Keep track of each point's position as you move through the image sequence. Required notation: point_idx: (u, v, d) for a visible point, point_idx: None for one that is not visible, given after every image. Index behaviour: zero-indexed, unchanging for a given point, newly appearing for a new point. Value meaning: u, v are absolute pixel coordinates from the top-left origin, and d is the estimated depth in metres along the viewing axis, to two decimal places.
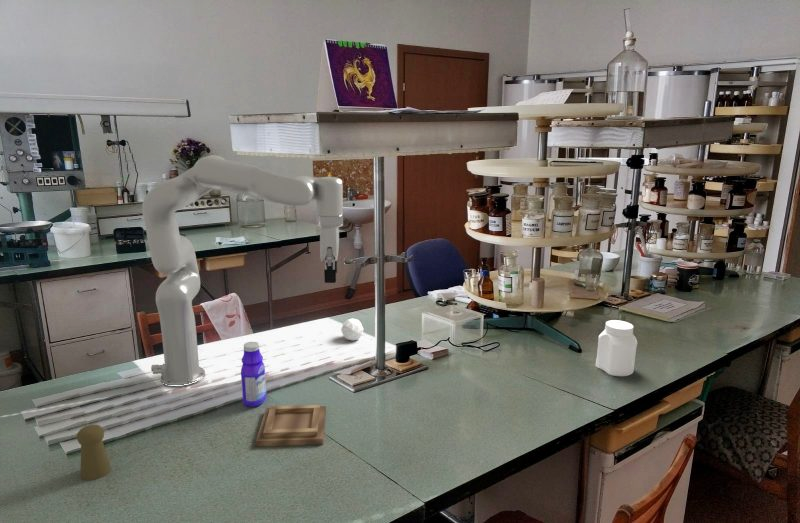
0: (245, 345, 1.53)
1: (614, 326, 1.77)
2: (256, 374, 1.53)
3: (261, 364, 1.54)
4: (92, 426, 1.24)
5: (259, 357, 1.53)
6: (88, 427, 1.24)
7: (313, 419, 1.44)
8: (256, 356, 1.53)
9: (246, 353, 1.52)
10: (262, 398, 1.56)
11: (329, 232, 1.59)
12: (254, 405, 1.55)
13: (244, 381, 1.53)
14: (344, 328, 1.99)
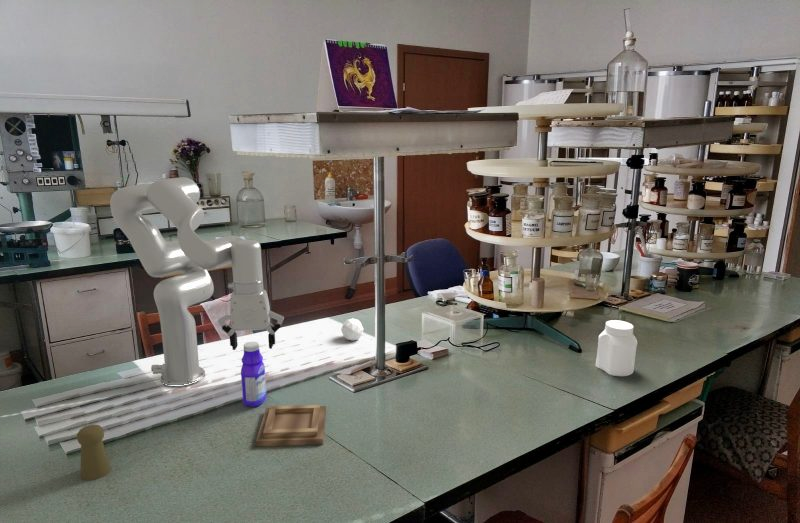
0: (245, 345, 1.53)
1: (614, 326, 1.77)
2: (256, 374, 1.53)
3: (261, 364, 1.54)
4: (92, 426, 1.24)
5: (259, 357, 1.53)
6: (88, 427, 1.24)
7: (313, 419, 1.44)
8: (256, 356, 1.53)
9: (246, 352, 1.52)
10: (262, 398, 1.56)
11: None
12: (254, 405, 1.55)
13: (244, 381, 1.53)
14: (344, 328, 1.99)
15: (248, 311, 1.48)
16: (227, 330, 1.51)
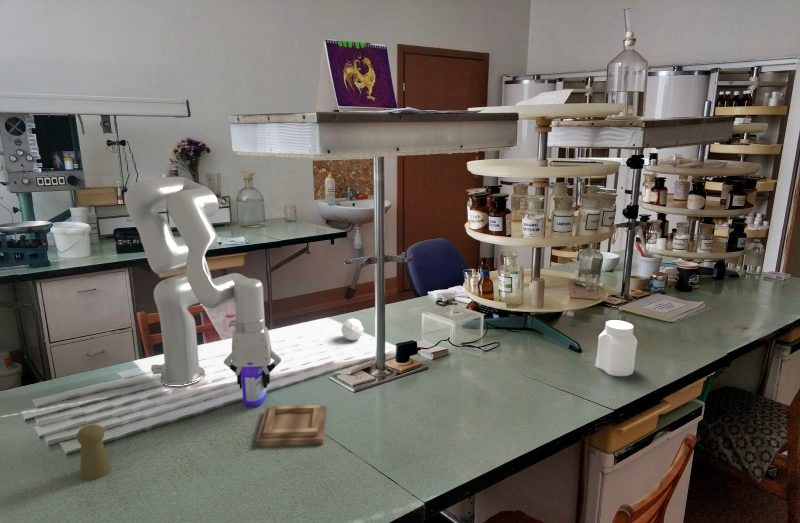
0: None
1: (614, 326, 1.77)
2: (256, 374, 1.53)
3: None
4: (92, 426, 1.24)
5: None
6: (88, 427, 1.24)
7: (313, 419, 1.44)
8: None
9: None
10: (262, 398, 1.56)
11: (268, 333, 1.53)
12: (254, 405, 1.55)
13: (244, 381, 1.53)
14: (344, 328, 1.99)
15: (249, 349, 1.51)
16: (234, 370, 1.54)
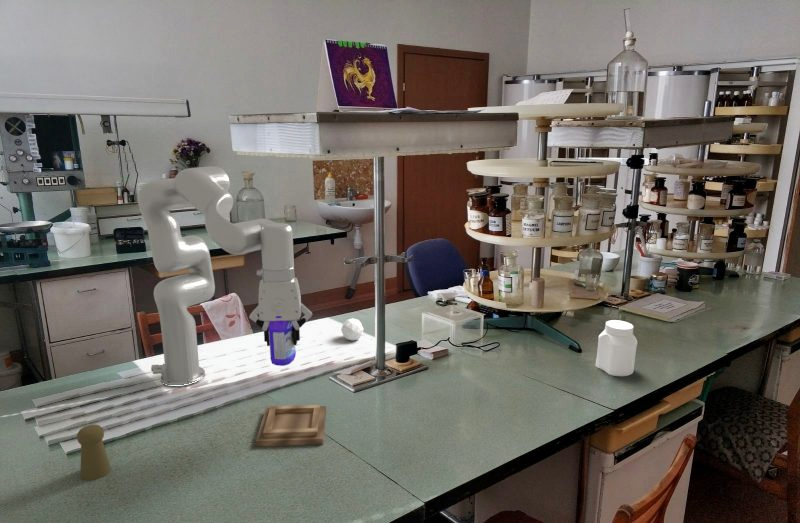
0: None
1: (614, 326, 1.77)
2: (286, 328, 1.38)
3: None
4: (92, 426, 1.24)
5: None
6: (88, 427, 1.24)
7: (313, 419, 1.44)
8: None
9: None
10: (292, 356, 1.42)
11: None
12: (283, 364, 1.40)
13: (272, 336, 1.38)
14: (344, 328, 1.99)
15: (278, 300, 1.36)
16: (260, 325, 1.40)
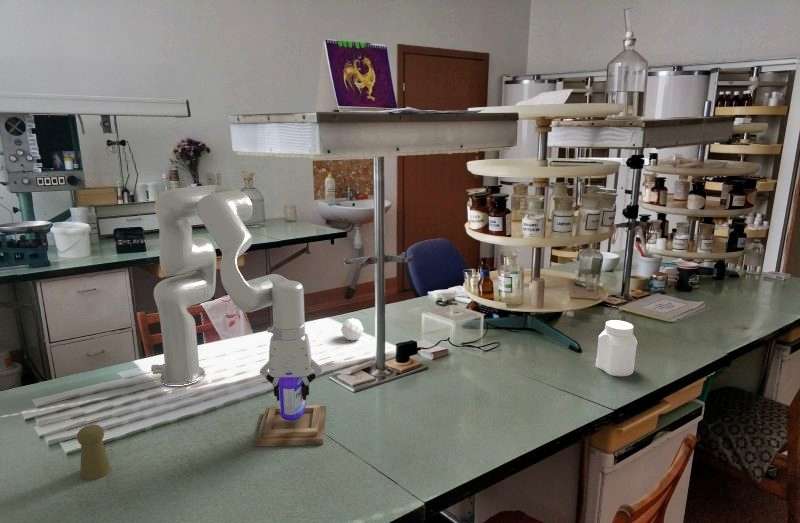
0: None
1: (614, 326, 1.77)
2: (296, 385, 1.39)
3: None
4: (92, 426, 1.24)
5: None
6: (88, 427, 1.24)
7: (313, 419, 1.44)
8: None
9: None
10: (301, 411, 1.43)
11: (308, 340, 1.40)
12: (293, 419, 1.41)
13: (282, 393, 1.39)
14: (344, 328, 1.99)
15: (289, 358, 1.37)
16: (271, 381, 1.41)
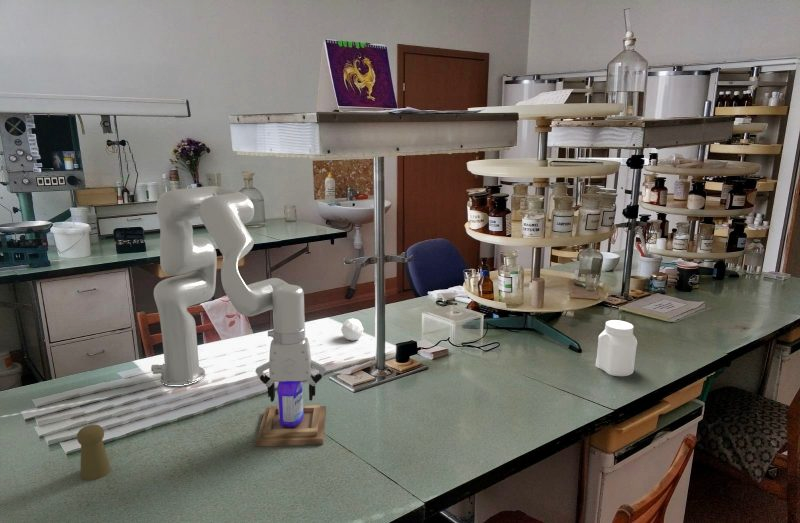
0: None
1: (614, 326, 1.77)
2: (295, 392, 1.40)
3: (299, 381, 1.42)
4: (92, 426, 1.24)
5: None
6: (88, 427, 1.24)
7: (313, 419, 1.44)
8: None
9: None
10: (300, 418, 1.43)
11: (308, 344, 1.40)
12: (292, 426, 1.42)
13: (281, 400, 1.40)
14: (344, 328, 1.99)
15: (289, 362, 1.38)
16: (265, 380, 1.41)
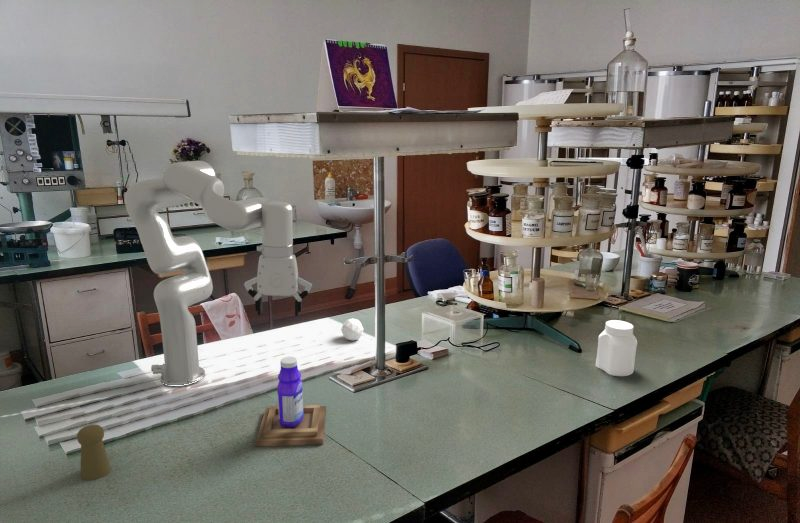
0: (282, 361, 1.40)
1: (614, 326, 1.77)
2: (295, 392, 1.40)
3: (299, 381, 1.42)
4: (92, 426, 1.24)
5: (297, 374, 1.41)
6: (88, 427, 1.24)
7: (313, 419, 1.44)
8: (295, 373, 1.40)
9: (284, 369, 1.39)
10: (300, 418, 1.43)
11: None
12: (292, 426, 1.42)
13: (281, 400, 1.40)
14: (344, 328, 1.99)
15: (276, 276, 1.43)
16: (253, 294, 1.46)
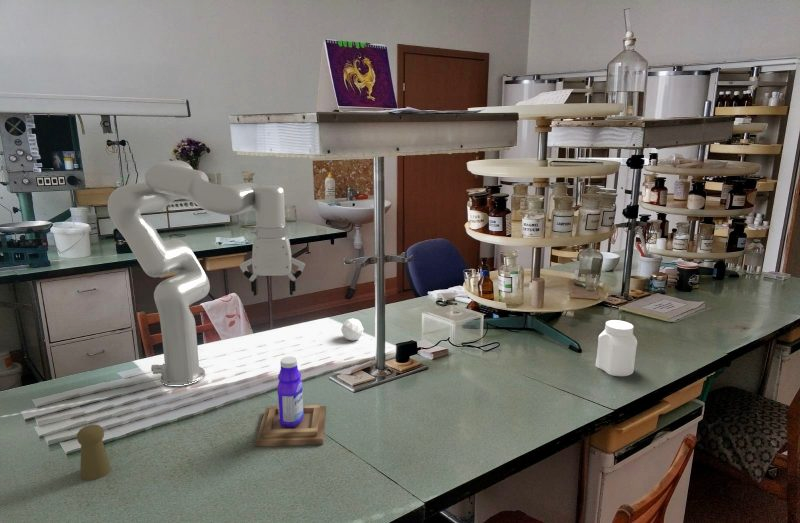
0: (282, 361, 1.40)
1: (614, 326, 1.77)
2: (295, 392, 1.40)
3: (299, 381, 1.42)
4: (92, 426, 1.24)
5: (297, 374, 1.41)
6: (88, 427, 1.24)
7: (313, 419, 1.44)
8: (295, 373, 1.40)
9: (284, 369, 1.39)
10: (300, 418, 1.43)
11: None
12: (292, 426, 1.42)
13: (281, 400, 1.40)
14: (344, 328, 1.99)
15: (270, 256, 1.49)
16: (249, 275, 1.52)
